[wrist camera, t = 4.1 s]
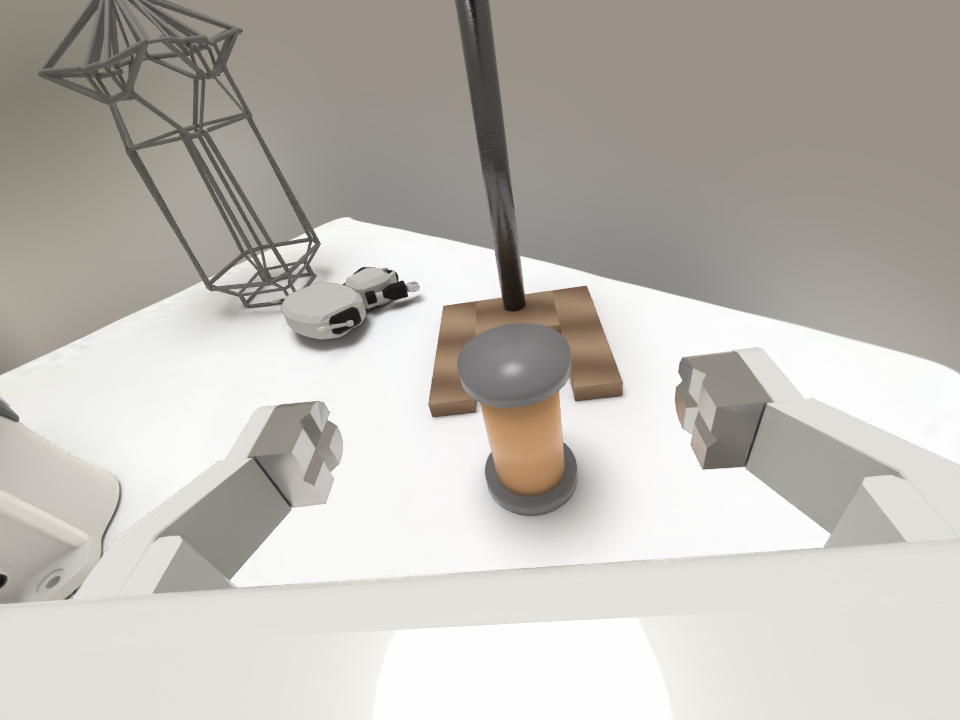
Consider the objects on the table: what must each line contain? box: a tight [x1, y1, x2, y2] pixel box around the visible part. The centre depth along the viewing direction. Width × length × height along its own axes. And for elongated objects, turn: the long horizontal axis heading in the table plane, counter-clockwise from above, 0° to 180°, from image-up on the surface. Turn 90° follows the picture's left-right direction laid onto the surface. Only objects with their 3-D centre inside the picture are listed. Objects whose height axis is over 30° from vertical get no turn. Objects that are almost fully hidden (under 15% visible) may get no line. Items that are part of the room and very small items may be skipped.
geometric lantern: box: [38, 0, 321, 308], centre depth 53 cm, size 16×16×35 cm
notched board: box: [428, 286, 623, 417], centre depth 43 cm, size 16×16×2 cm
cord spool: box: [457, 323, 577, 516], centre depth 28 cm, size 6×6×11 cm
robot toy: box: [270, 267, 420, 339], centre depth 54 cm, size 12×4×15 cm
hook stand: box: [455, 0, 526, 311], centre depth 34 cm, size 12×2×30 cm, turn 179°
